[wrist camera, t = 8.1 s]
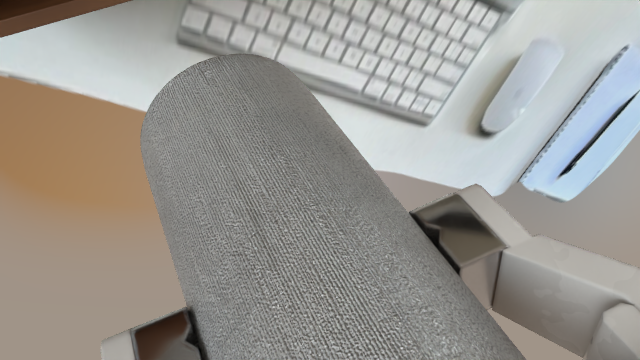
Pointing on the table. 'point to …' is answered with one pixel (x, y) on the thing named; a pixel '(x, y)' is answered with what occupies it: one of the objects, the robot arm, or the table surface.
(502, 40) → the table surface
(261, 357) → the gray cylinder
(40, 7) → the storage box
